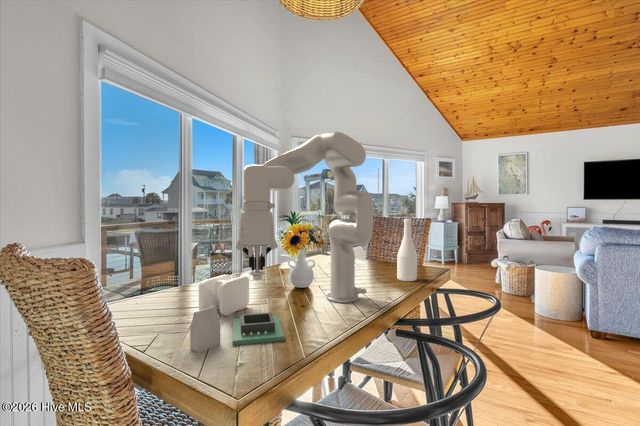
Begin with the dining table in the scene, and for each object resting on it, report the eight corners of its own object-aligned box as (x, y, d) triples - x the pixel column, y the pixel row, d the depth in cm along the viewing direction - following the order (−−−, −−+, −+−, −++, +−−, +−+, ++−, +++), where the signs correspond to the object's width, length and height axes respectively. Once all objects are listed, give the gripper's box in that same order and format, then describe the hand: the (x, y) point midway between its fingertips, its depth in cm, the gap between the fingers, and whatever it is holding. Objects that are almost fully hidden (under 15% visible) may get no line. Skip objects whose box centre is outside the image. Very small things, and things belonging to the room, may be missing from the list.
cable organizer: (221, 319, 114) (221, 284, 114) (197, 314, 119) (197, 280, 118) (249, 307, 128) (249, 275, 127) (226, 303, 132) (226, 272, 132)
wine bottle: (397, 281, 169) (398, 219, 168) (396, 277, 178) (397, 218, 177) (417, 282, 167) (418, 219, 166) (415, 277, 177) (416, 218, 176)
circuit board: (277, 319, 115) (277, 307, 115) (284, 340, 97) (284, 327, 97) (233, 322, 111) (233, 310, 111) (232, 345, 94) (232, 331, 94)
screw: (245, 279, 104) (258, 276, 107) (256, 282, 100) (268, 279, 104) (245, 235, 103) (257, 234, 107) (256, 236, 100) (268, 235, 104)
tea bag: (220, 343, 95) (220, 307, 95) (199, 352, 90) (198, 314, 89) (211, 340, 97) (211, 305, 97) (190, 349, 92) (189, 311, 91)
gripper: (282, 207, 109) (282, 266, 109) (229, 207, 105) (229, 268, 106) (285, 207, 101) (285, 270, 102) (228, 207, 98) (229, 273, 98)
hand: (257, 269), depth 104 cm, fingers closed on screw, 2 cm apart
